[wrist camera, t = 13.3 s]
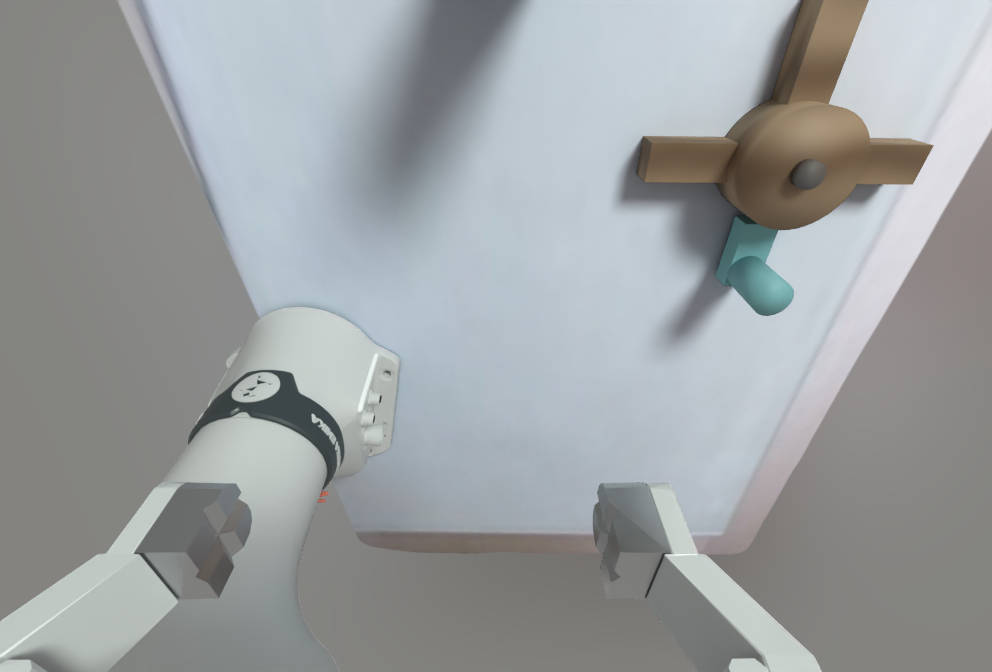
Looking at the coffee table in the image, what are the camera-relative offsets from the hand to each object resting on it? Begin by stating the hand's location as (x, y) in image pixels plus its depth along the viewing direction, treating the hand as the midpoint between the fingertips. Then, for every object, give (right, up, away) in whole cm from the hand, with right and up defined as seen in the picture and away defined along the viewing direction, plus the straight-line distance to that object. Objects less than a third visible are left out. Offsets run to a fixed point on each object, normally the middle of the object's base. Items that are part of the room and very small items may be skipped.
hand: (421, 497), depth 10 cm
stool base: (+25, +21, +25) cm, 42 cm away
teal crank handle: (+25, +12, +32) cm, 42 cm away
